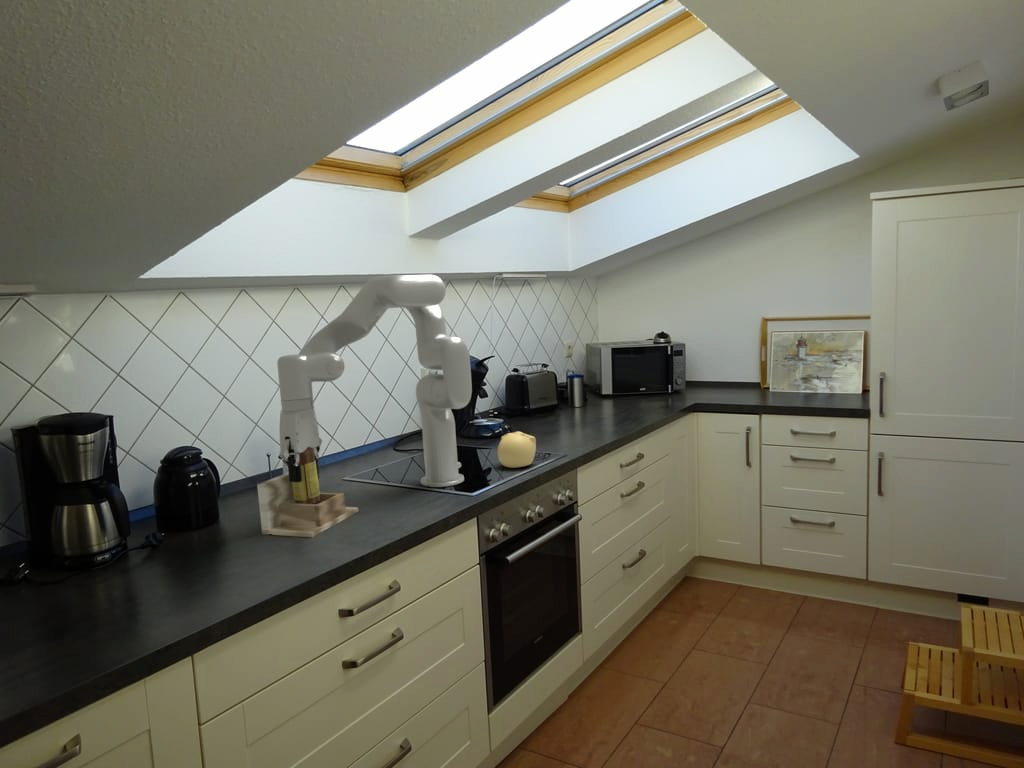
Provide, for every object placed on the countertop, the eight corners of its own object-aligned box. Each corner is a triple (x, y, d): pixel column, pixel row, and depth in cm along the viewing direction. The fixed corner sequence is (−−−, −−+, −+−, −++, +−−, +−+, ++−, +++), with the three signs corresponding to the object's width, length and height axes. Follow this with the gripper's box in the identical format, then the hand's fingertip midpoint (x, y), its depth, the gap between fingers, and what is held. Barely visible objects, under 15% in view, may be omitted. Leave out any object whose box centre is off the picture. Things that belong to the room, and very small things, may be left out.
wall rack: (312, 509, 187) (307, 464, 186) (358, 511, 182) (354, 465, 181) (262, 534, 168) (257, 484, 167) (312, 537, 164) (307, 486, 162)
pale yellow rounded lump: (541, 462, 225) (539, 428, 224) (527, 471, 214) (525, 436, 213) (507, 461, 229) (505, 428, 228) (492, 470, 218) (490, 435, 217)
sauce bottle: (319, 498, 179) (312, 421, 177) (321, 504, 173) (314, 424, 171) (292, 502, 177) (285, 423, 175) (293, 508, 171) (285, 427, 169)
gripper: (305, 400, 182) (312, 469, 184) (261, 411, 165) (269, 486, 168) (331, 400, 179) (337, 469, 181) (288, 411, 163) (295, 487, 165)
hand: (304, 477), depth 174 cm, fingers closed on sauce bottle, 6 cm apart
